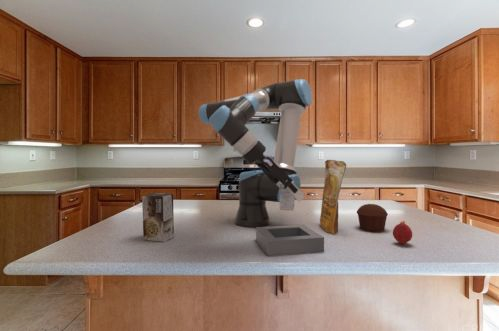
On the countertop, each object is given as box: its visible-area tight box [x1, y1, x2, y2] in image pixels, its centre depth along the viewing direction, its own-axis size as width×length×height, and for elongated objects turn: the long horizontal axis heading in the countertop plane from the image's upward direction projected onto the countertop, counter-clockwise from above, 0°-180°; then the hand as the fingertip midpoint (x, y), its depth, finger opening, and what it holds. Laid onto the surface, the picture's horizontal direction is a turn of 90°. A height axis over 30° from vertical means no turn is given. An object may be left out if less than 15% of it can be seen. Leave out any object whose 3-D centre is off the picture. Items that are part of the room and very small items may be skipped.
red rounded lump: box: [392, 220, 413, 245], centre depth 93 cm, size 6×6×8 cm
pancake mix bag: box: [319, 159, 347, 235], centre depth 112 cm, size 7×19×28 cm, turn 179°
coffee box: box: [141, 192, 175, 243], centre depth 100 cm, size 9×6×16 cm
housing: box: [255, 224, 325, 257], centre depth 92 cm, size 16×18×4 cm
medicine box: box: [279, 181, 295, 211], centre depth 91 cm, size 8×4×9 cm, turn 168°
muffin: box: [356, 203, 389, 233], centre depth 112 cm, size 12×11×10 cm
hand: (296, 196), depth 92 cm, fingers closed on medicine box, 9 cm apart
